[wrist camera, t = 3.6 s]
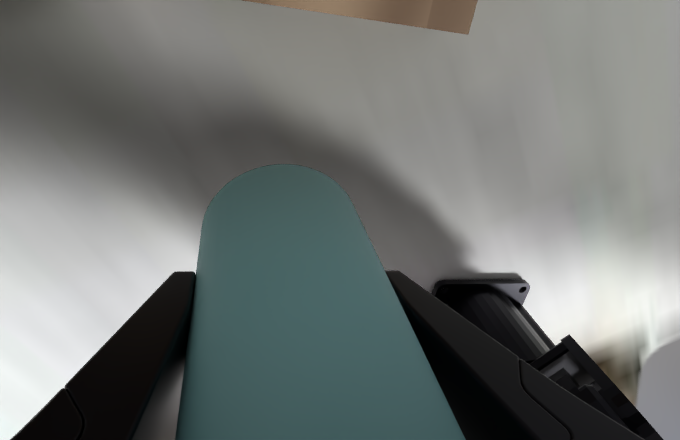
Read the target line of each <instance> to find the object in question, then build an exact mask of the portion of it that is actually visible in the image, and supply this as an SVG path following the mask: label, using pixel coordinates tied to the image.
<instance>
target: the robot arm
mask: <svg viewBox="0 0 680 440" xmlns="http://www.w3.org/2000/svg"><path fill="white" fill-rule="evenodd" d="M385 272H386V274H387V277H388V279H389V281H390V283H391V285H392V287H393V289H394V291H395V293H396V295H397V297H398V299H399V302H400V304H401V306H402V308H403V310H404V312H405V314H406V316H407V318H408V320H409V322H410V325H411V327H412V329H413V331H414V333H415V335H416V337H417V339H418V341H419V343H420V345H421V347H422V350H423V352H424V354H425V356H426V358H427V360H428V362H429V364H430V366H431V368H432V370H433V373H434V375H435V377H436V379H437V381H438V383H439V385H440V387H441V389H442V391H443V393H444V395H445V398H446V400H447V402H448V404H449V406H450V408H451V410H452V412H453V414H454V416H455V418H456V421H457V423H458V425H459V427H460V429H461V431H462V433H463V435H464V437H465V439H466V440H663V439H662V438H661V437H660V435H659V434H658V433H657V432H656V431H655V429H654V428H653V427H652V426H651V425H650V424H649V423H648V421H647V420H646V419H645V418H644V417H643V416H642V415H641V413H640V412H639V411H638V410H637V409H636V408H635V407H634V405H633V404H632V403H631V402H630V401H629V400H628V399H627V398H626V396H625V395H624V394H623V393H622V392H621V391H620V390H619V389H618V387H617V386H616V385H615V384H614V383H613V382H612V381H611V380H610V379H609V378H608V376H607V375H606V374H605V373H604V372H603V371H602V370H601V369H600V368H599V367H598V365H597V364H596V363H595V362H594V361H593V360H592V359H591V358H590V357H589V356H588V354H587V353H586V352H585V351H584V350H583V349H582V348H581V347H580V346H579V345H578V343H577V342H576V341H575V340H574V339H573V338H572V337H571V336H570V335H567V336H566V337H564V338H563V339H562V340H561V341H562V342H561V343H559V344H558V345H556V346H555V345H554V344H553V342H552V341H551V340H550V339H549V338H548V336H547V335H546V334H545V333H544V331H543V330H542V329H541V328H540V327H539V325H538V324H537V323H536V322H535V321H534V319H533V318H532V317H531V316H530V315H529V313H528V312H527V311H526V310H525V309H524V307H523V306H522V305H523V303H524V300H525V298H526V296H527V294H528V292H529V289H530V285H529V284H528V283H527V282H526V281H525V280H522V279H519V280H441V281H439V282H437V283H436V284H435V286H434V289H433V292H432V294H430V293H429V292H428V291H426V290H425V289H423V288H422V287H421V286H419V285H418V284H416V283H415V282H414V281H412V280H411V279H409V278H408V277H407V276H405V275H404V274H402V273H401V272H399V271H385ZM195 280H196V275H195V273H194V272H174V273H173V274H172V275H171V276H170V277H169V278H168V279H167V280H166V281H165V282H164V283H163V284H162V285H161V286H160V287H159V288H158V289H157V290H156V291H155V292H154V293H153V294H152V295H151V296H150V297H149V299H148V300H147V301H146V302H145V303H144V304H143V305H142V306H141V307H140V308H139V309H138V310H137V311H136V312H135V313H134V314H133V315H132V316H131V317H130V318H129V319H128V320H127V321H126V322H125V324H124V325H123V326H122V327H121V328H120V329H119V330H118V331H117V332H116V333H115V334H114V335H113V336H112V337H111V338H110V339H109V340H108V341H107V342H106V343H105V344H104V345H103V346H102V347H101V348H100V350H99V351H98V352H97V353H96V354H95V355H94V356H93V357H92V358H91V359H90V360H89V361H88V362H87V363H86V364H85V365H84V366H83V367H82V368H81V369H80V370H79V371H78V372H77V373H76V374H75V376H74V377H73V378H72V379H71V380H70V381H69V382H68V383H67V384H66V385H65V388H63V389H61V390H60V391H59V392H58V393H57V394H56V395H55V396H54V397H53V398H52V399H51V400H50V401H49V402H48V403H47V404H46V405H45V406H44V407H43V408H42V409H41V410H40V411H39V412H38V413H37V414H36V415H35V416H34V417H33V418H32V419H31V420H30V421H29V422H28V423H27V424H26V425H25V426H24V427H23V428H22V429H21V430H20V431H19V432H18V433H17V434H16V435H15V436H14V437H13V438H11V439H10V440H175V436H176V428H177V420H178V412H179V404H180V396H181V389H182V381H183V373H184V365H185V357H186V349H187V341H188V333H189V326H190V319H191V312H192V304H193V296H194V288H195ZM442 288H444V289H442ZM441 289H442V290H441Z"/></svg>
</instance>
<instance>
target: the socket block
mask: <svg viewBox="0 0 680 440" xmlns="http://www.w3.org/2000/svg"><path fill="white" fill-rule="evenodd" d="M243 1H250V2H257V3H263V4H270V5H276V6H283V7H290V8H296V9H303V10H310V11H316V12H323V13H329V14H336V15H343V16H349V17H356V18H362V19H369V20H376V21H382V22H389V23H396V24H402V25H409V26H415V27H422V28H429V29H435V30H442V31H449V32H455V33H462V34H468V33H469V30H470V26H471V23H472V19H473V15H474V12H475V8H476V4H477V1H478V0H243Z"/></svg>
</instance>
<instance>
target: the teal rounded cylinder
mask: <svg viewBox="0 0 680 440" xmlns="http://www.w3.org/2000/svg"><path fill="white" fill-rule="evenodd" d="M175 440H466V439H465V437H464V435H463V433H462V431H461V429H460V427H459V425H458V423H457V421H456V418H455V416H454V414H453V412H452V410H451V408H450V406H449V404H448V402H447V400H446V398H445V395H444V393H443V391H442V389H441V387H440V385H439V383H438V381H437V379H436V377H435V375H434V373H433V370H432V368H431V366H430V364H429V362H428V360H427V358H426V356H425V354H424V352H423V350H422V347H421V345H420V343H419V341H418V339H417V337H416V335H415V333H414V331H413V329H412V327H411V325H410V322H409V320H408V318H407V316H406V314H405V312H404V310H403V308H402V306H401V304H400V302H399V299H398V297H397V295H396V293H395V291H394V289H393V287H392V285H391V283H390V281H389V279H388V277H387V274H386V272H385V270H384V268H383V266H382V264H381V262H380V260H379V258H378V256H377V254H376V251H375V249H374V247H373V245H372V243H371V241H370V239H369V237H368V235H367V233H366V231H365V229H364V226H363V224H362V222H361V220H360V218H359V216H358V214H357V212H356V210H355V208H354V206H353V204H352V202H351V200H350V198H349V196H348V195H347V193H346V192H345V191H344V189H343V188H342V187H341V186H340V185H339V184H338V183H337V182H335V181H334V180H333V179H331V178H330V177H329V176H327V175H325V174H323V173H321V172H319V171H317V170H314V169H312V168H308V167H304V166H300V165H292V164H276V165H268V166H264V167H260V168H256V169H253V170H250V171H248V172H245V173H244V174H242V175H240V176H238V177H236V178H235V179H233V180H232V181H230V182H229V183H227V184H226V185H225V186H224V187H223V188H222V189H221V190H220V191H219V192H218V193H217V195H216V196H215V197H214V198H213V200H212V201H211V203H210V205H209V206H208V208H207V211H206V213H205V216H204V219H203V224H202V230H201V238H200V246H199V254H198V262H197V270H196V280H195V288H194V296H193V304H192V312H191V319H190V326H189V333H188V341H187V349H186V357H185V365H184V373H183V381H182V389H181V396H180V404H179V412H178V420H177V428H176V436H175Z"/></svg>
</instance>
